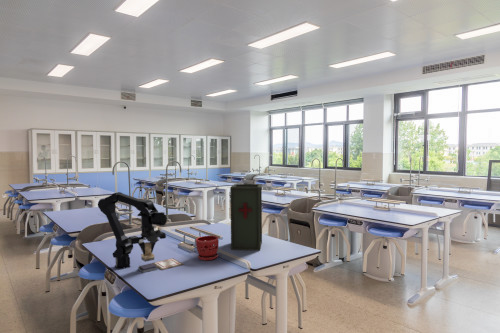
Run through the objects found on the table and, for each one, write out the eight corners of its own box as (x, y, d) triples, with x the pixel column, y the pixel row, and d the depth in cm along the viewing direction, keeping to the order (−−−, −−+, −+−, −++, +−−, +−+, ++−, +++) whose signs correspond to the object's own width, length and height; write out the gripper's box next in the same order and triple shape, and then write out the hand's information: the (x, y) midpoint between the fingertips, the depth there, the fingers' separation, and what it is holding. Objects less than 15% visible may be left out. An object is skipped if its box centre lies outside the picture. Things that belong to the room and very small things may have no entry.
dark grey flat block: (143, 272, 169) (142, 269, 169) (138, 269, 174) (137, 265, 174) (157, 269, 174) (157, 265, 174) (152, 265, 180) (152, 262, 179)
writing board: (161, 270, 173) (161, 269, 173) (151, 263, 183) (151, 262, 183) (183, 264, 181) (183, 263, 181) (173, 258, 191) (173, 257, 191)
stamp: (145, 261, 170) (144, 245, 170) (141, 259, 174) (141, 243, 174) (154, 259, 174) (153, 243, 173) (150, 257, 178) (150, 241, 177)
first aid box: (261, 242, 224) (261, 184, 222) (260, 250, 206) (259, 187, 204) (235, 241, 226) (234, 184, 224) (231, 249, 208) (230, 187, 206)
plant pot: (215, 253, 200) (215, 234, 200) (221, 260, 188) (221, 239, 188) (194, 256, 196) (193, 236, 195) (198, 263, 184) (198, 241, 183)
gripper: (134, 229, 161) (135, 261, 162) (170, 224, 173) (170, 253, 174) (127, 226, 170) (127, 255, 170) (161, 221, 182) (161, 248, 182)
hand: (147, 253), depth 174 cm, fingers closed on stamp, 4 cm apart
